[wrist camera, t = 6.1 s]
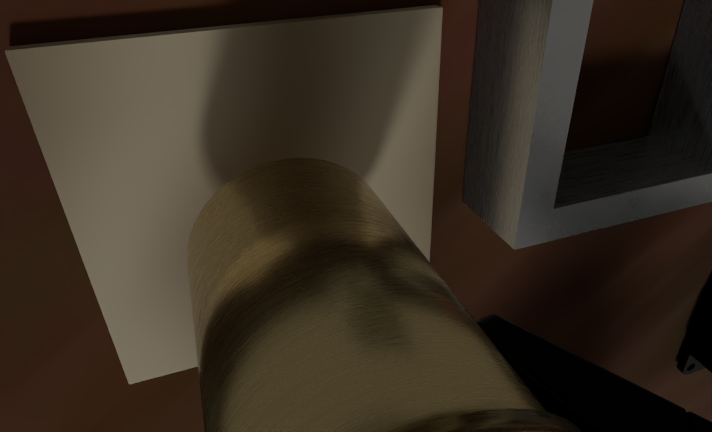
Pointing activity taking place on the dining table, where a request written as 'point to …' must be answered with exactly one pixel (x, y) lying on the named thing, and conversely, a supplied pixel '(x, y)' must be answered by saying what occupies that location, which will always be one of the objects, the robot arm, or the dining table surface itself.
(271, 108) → the coaster
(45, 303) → the dining table surface
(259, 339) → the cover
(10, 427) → the dining table surface
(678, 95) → the housing
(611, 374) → the robot arm
